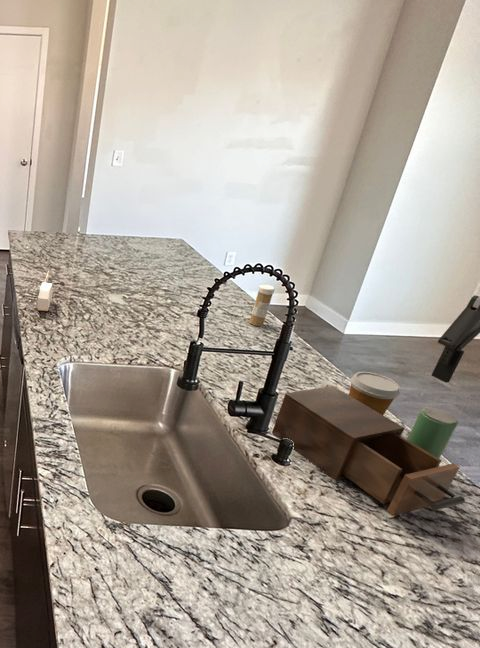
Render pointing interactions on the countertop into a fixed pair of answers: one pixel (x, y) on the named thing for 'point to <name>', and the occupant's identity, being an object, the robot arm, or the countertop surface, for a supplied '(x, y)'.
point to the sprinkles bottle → (261, 305)
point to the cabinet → (329, 426)
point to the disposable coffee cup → (373, 390)
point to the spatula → (45, 295)
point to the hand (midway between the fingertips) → (465, 375)
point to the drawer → (401, 474)
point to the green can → (433, 430)
